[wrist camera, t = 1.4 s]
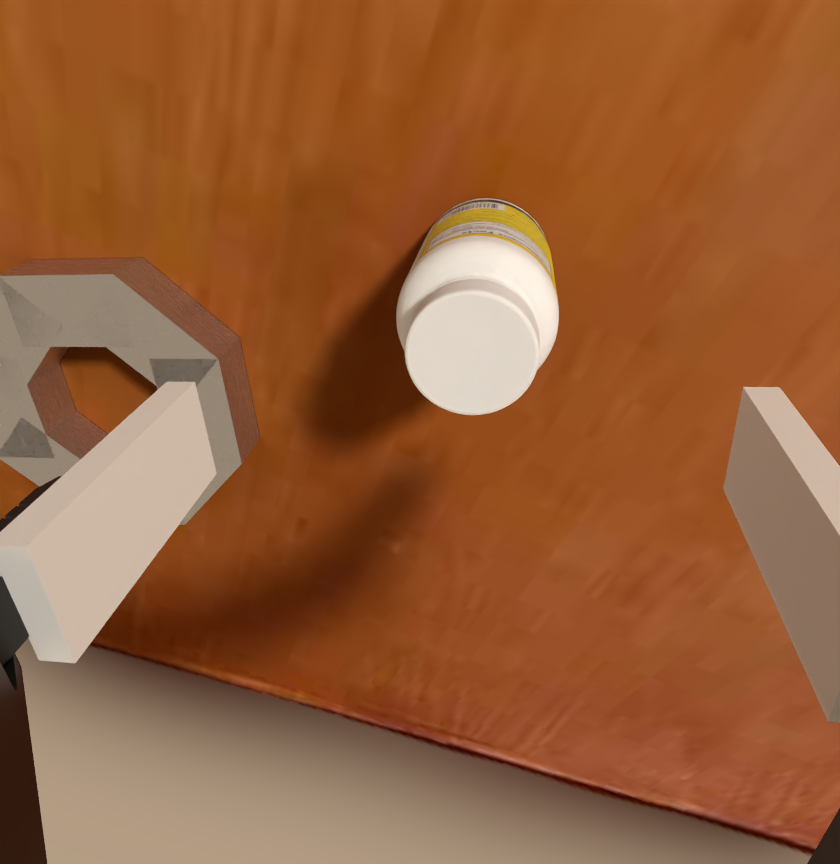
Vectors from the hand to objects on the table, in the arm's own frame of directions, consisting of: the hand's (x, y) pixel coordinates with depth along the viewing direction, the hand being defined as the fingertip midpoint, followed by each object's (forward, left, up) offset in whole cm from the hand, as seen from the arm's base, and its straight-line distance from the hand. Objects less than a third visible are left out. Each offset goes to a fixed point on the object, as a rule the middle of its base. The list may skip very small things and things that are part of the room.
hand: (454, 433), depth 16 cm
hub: (+6, -18, -14) cm, 23 cm away
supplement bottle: (0, 0, -14) cm, 14 cm away
